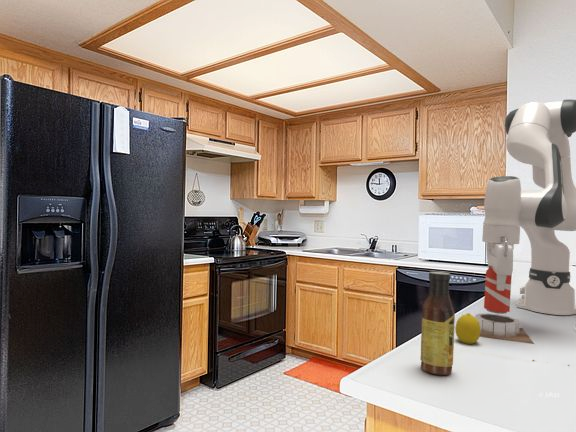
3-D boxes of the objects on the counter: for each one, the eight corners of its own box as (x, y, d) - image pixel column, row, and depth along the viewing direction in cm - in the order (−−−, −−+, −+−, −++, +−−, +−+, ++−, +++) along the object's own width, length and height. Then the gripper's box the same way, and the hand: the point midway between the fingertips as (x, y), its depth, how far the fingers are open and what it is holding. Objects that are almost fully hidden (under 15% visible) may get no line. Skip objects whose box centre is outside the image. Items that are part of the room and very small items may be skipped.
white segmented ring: (473, 323, 116) (474, 311, 116) (514, 329, 112) (515, 316, 112) (476, 333, 106) (477, 320, 106) (521, 339, 103) (522, 325, 103)
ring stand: (464, 324, 119) (464, 320, 119) (522, 331, 114) (522, 328, 114) (467, 338, 105) (467, 334, 105) (534, 347, 100) (534, 343, 100)
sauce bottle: (455, 378, 79) (460, 276, 79) (421, 374, 80) (426, 274, 80) (449, 366, 85) (453, 271, 85) (418, 362, 87) (422, 269, 86)
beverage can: (513, 315, 106) (516, 269, 106) (487, 313, 107) (489, 267, 107) (505, 309, 112) (507, 266, 111) (480, 307, 113) (482, 264, 113)
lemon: (469, 351, 95) (470, 317, 95) (449, 343, 100) (451, 311, 100) (484, 348, 98) (486, 315, 98) (465, 341, 103) (466, 309, 103)
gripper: (521, 239, 98) (518, 296, 98) (508, 235, 117) (505, 283, 117) (492, 237, 100) (489, 293, 101) (483, 234, 119) (481, 281, 120)
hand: (498, 287), depth 109 cm, fingers closed on beverage can, 6 cm apart
